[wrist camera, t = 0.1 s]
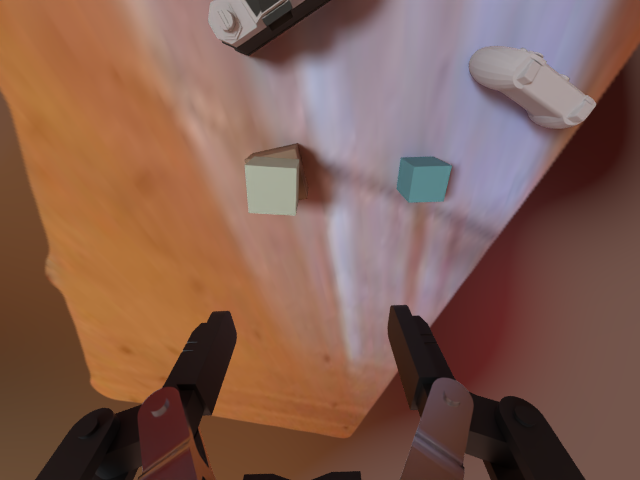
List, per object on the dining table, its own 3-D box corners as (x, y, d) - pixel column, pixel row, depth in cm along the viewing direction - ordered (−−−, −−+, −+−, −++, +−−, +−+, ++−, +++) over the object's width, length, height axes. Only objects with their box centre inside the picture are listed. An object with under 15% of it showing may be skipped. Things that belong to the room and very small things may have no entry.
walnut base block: (253, 153, 37) (244, 160, 33) (297, 143, 36) (295, 148, 32) (267, 196, 41) (261, 207, 36) (308, 187, 40) (307, 198, 36)
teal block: (400, 157, 38) (414, 166, 32) (433, 156, 37) (451, 165, 32) (396, 189, 40) (408, 202, 35) (427, 188, 40) (443, 201, 35)
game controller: (551, 100, 34) (631, 101, 25) (525, 131, 36) (591, 141, 27) (473, 41, 31) (534, 18, 22) (449, 79, 32) (497, 71, 24)
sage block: (254, 156, 33) (244, 165, 28) (299, 159, 33) (296, 168, 28) (257, 199, 36) (248, 212, 31) (298, 201, 36) (295, 215, 31)
